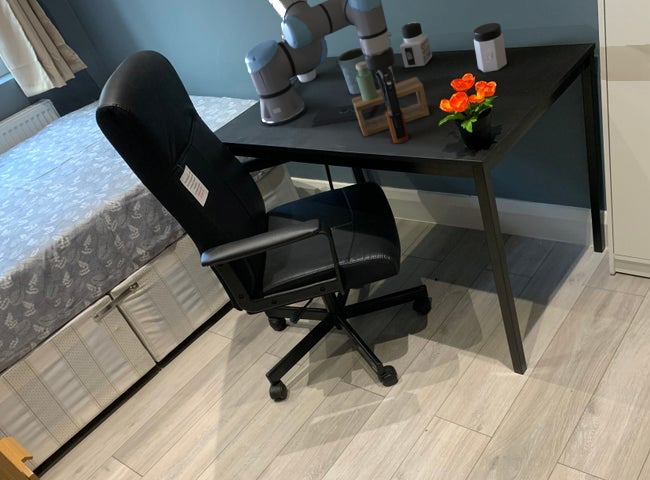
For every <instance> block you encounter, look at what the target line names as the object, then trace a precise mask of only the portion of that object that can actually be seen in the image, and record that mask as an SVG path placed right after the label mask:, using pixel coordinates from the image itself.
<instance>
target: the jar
mask: <svg viewBox="0 0 650 480" xmlns="http://www.w3.org/2000/svg"><path fill="white" fill-rule="evenodd" d="M501 27H502V26H501V23H497V22H490V23H484V24H482V25H480V26H477V27H476V28H475V29H473V36H474V39H473V43H474V52H475V57H476V62H477V68H478V70H480V71H482V73H489V72H490V73H491V72H497V71H499V70H501V69H502V68H503V67H505V66H506V65H508V62H507V55H506V48H505V40H504V34H503V33H502V28H501Z"/></svg>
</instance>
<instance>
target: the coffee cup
mask: <svg viewBox="0 0 650 480" xmlns="http://www.w3.org/2000/svg"><path fill="white" fill-rule="evenodd" d="M297 77H298V81H300V82H301V83H308V82H311V81H313V80H315V79H316V77H317V72H316V68H312V69H310V70H308V71H306V72H304V73H302V74H299V75H297Z"/></svg>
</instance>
